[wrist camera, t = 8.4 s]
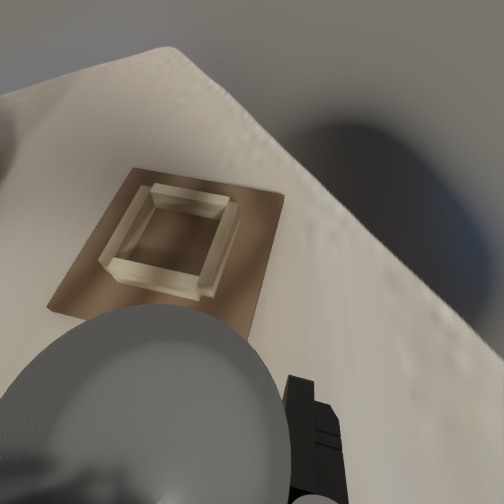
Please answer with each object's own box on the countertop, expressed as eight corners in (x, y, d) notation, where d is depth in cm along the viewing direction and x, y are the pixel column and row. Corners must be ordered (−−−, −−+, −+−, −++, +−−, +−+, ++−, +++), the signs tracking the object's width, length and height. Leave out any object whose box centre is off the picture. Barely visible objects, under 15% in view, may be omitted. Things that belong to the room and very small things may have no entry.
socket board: (52, 311, 30) (30, 294, 27) (135, 173, 40) (126, 150, 37) (242, 359, 28) (240, 347, 25) (283, 201, 37) (286, 178, 34)
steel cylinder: (121, 512, 11) (-132, 613, 4) (170, 379, 14) (73, 278, 6) (247, 555, 11) (244, 773, 3) (276, 409, 13) (314, 338, 6)
